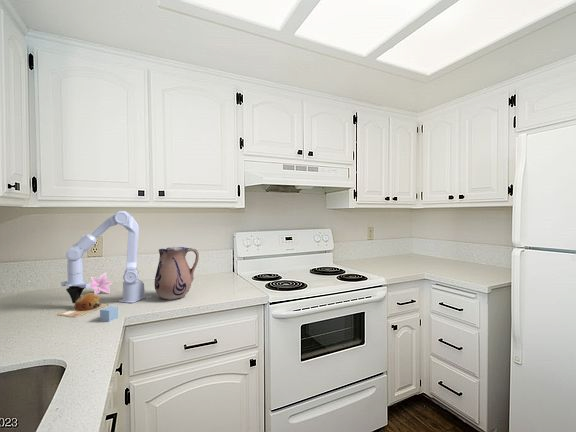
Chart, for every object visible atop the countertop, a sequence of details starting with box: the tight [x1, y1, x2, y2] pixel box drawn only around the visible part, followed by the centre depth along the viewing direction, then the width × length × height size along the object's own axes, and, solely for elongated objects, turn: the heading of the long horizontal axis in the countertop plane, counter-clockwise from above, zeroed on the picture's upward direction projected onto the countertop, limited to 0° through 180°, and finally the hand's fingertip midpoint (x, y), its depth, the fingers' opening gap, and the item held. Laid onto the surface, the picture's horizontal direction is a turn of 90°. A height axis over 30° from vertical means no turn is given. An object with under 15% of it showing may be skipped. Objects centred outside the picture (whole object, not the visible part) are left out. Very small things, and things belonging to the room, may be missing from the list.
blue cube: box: [99, 305, 119, 323], centre depth 122 cm, size 4×4×4 cm
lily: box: [89, 272, 114, 295], centre depth 160 cm, size 12×12×10 cm
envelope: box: [56, 303, 108, 318], centre depth 133 cm, size 16×10×1 cm, turn 165°
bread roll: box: [74, 292, 102, 311], centre depth 136 cm, size 10×10×8 cm
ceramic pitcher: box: [153, 246, 200, 301], centre depth 153 cm, size 18×21×25 cm
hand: (75, 302), depth 138 cm, fingers closed
